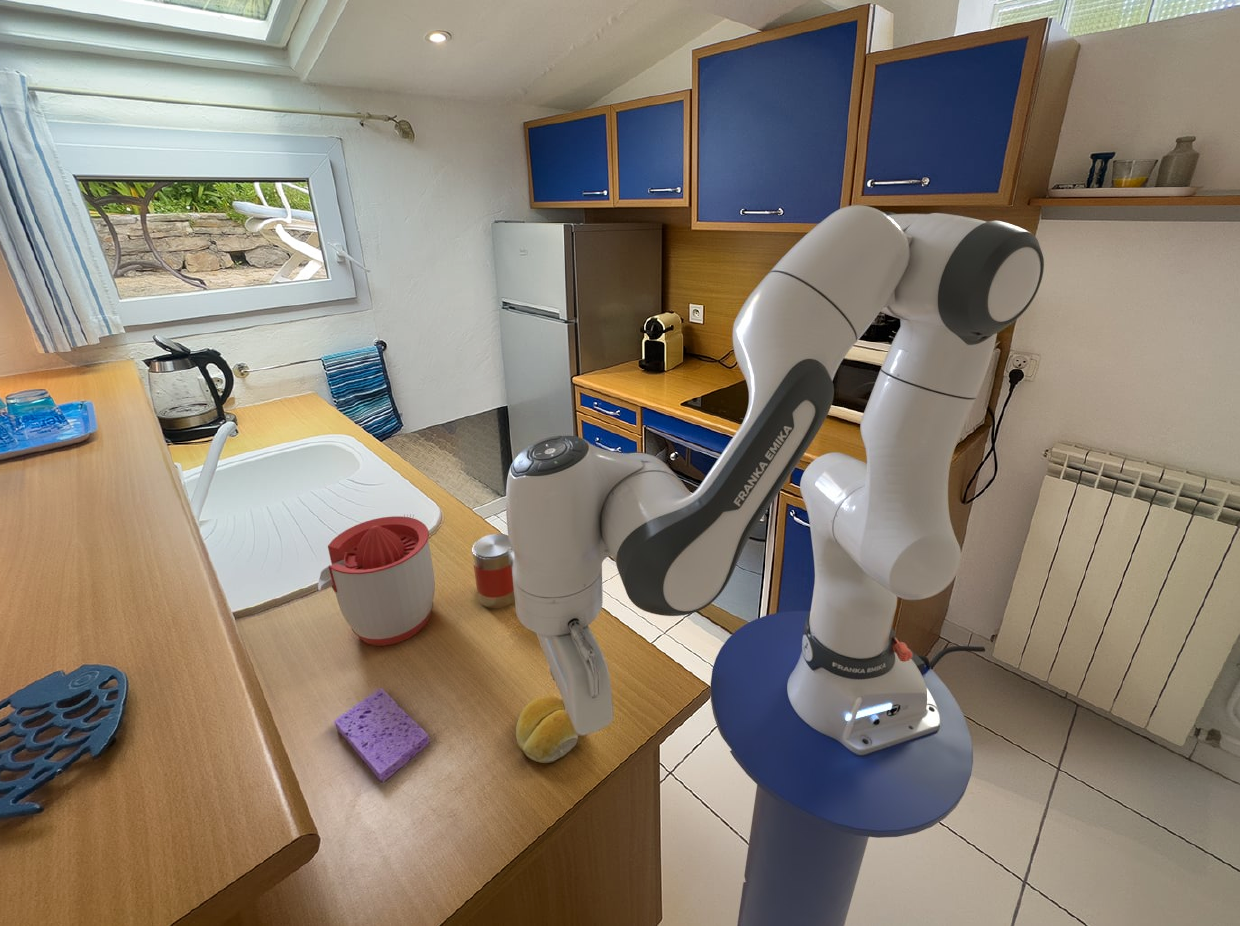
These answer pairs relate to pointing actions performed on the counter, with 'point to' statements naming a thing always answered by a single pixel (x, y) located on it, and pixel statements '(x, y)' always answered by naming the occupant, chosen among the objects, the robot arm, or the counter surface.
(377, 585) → the citrus juicer
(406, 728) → the sponge
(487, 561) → the tin can
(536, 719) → the bread roll
